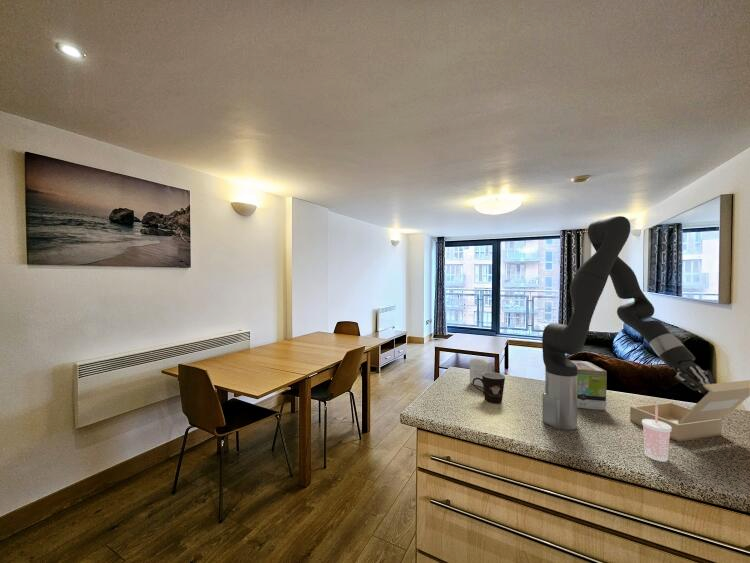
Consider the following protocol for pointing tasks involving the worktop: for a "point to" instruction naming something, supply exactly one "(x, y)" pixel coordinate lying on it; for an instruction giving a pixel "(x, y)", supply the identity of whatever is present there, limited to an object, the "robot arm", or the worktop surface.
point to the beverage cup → (656, 438)
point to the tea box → (590, 386)
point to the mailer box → (676, 421)
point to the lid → (718, 401)
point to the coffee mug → (492, 386)
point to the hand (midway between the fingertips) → (717, 402)
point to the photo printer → (479, 369)
